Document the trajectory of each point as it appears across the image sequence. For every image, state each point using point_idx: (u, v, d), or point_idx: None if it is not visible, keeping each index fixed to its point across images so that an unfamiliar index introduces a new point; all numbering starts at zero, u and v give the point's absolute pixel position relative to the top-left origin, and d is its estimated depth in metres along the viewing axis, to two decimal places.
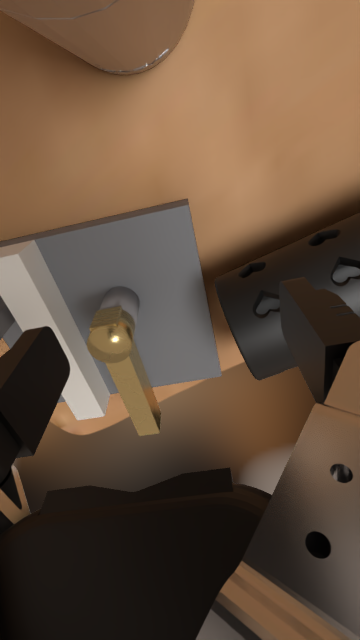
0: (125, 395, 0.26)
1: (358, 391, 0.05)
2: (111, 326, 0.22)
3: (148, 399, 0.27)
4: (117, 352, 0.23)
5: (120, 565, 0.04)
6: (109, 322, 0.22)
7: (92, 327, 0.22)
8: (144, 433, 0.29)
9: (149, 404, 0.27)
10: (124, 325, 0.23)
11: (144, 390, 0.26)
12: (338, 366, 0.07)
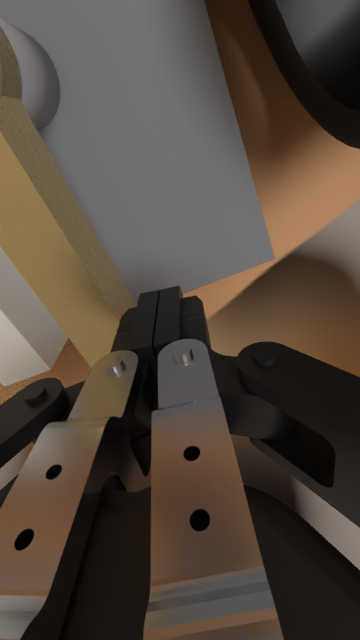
0: (31, 269, 0.10)
1: (177, 387, 0.06)
2: None
3: (100, 282, 0.10)
4: None
5: (120, 565, 0.04)
6: None
7: None
8: None
9: (104, 294, 0.10)
10: None
11: (82, 252, 0.10)
12: None
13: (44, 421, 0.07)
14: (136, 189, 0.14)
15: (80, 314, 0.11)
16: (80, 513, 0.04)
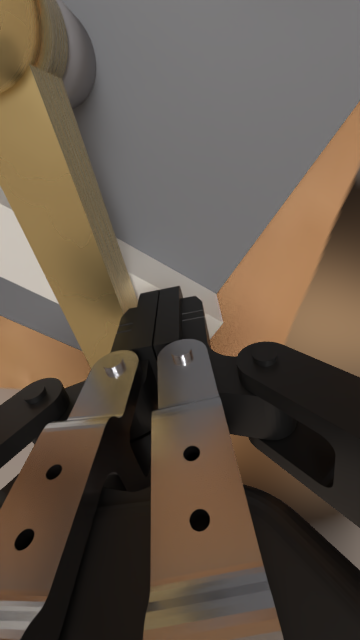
0: (47, 252, 0.10)
1: (177, 387, 0.06)
2: None
3: (113, 276, 0.10)
4: None
5: (120, 565, 0.04)
6: None
7: None
8: None
9: (116, 288, 0.10)
10: None
11: (101, 243, 0.10)
12: None
13: (44, 421, 0.07)
14: (204, 80, 0.12)
15: (87, 305, 0.10)
16: (80, 513, 0.04)
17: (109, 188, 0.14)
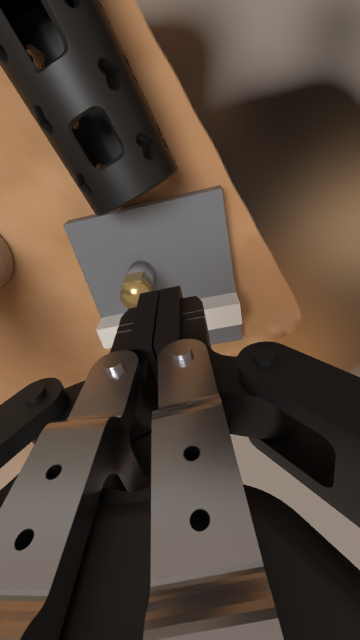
0: None
1: (177, 387, 0.06)
2: (137, 282, 0.32)
3: None
4: None
5: (120, 565, 0.04)
6: (136, 279, 0.32)
7: (124, 283, 0.32)
8: None
9: None
10: (145, 283, 0.33)
11: None
12: None
13: (44, 421, 0.07)
14: (179, 245, 0.36)
15: None
16: (80, 513, 0.04)
17: None
